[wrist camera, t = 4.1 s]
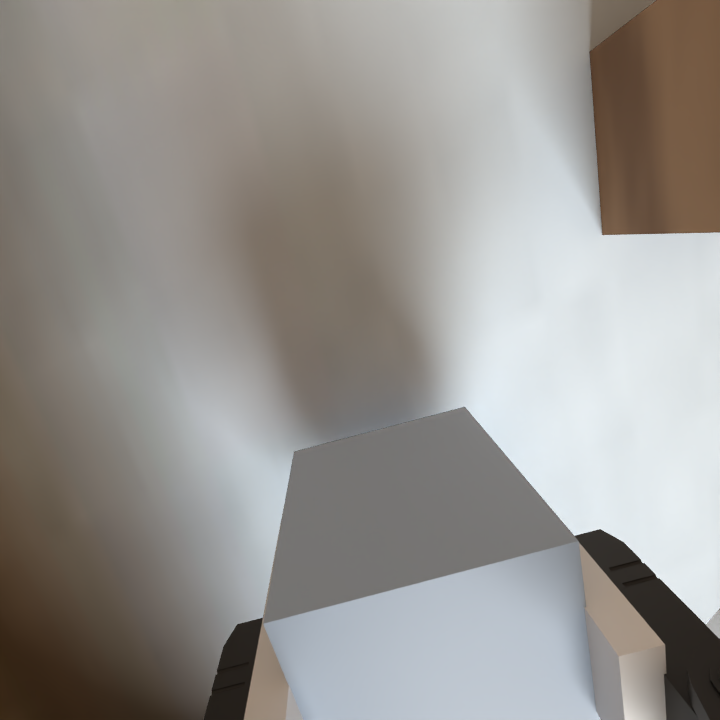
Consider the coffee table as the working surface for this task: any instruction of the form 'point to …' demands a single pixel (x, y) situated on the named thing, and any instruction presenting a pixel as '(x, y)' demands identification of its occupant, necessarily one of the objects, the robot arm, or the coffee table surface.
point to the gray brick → (426, 583)
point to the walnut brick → (659, 120)
